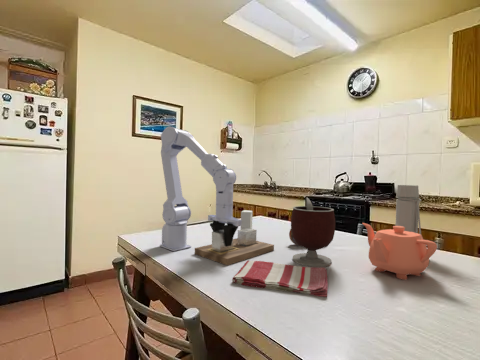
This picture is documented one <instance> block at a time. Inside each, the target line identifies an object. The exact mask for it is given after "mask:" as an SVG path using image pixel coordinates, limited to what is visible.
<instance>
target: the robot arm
mask: <svg viewBox="0 0 480 360" xmlns="http://www.w3.org/2000/svg"><path fill="white" fill-rule="evenodd" d="M160 140H161V141H160V142H161V148H160V155H161V163H162V169H163V176H164V177H163V178H164V182H165V183H164V184H165V190H166V191H165V192H166V197H167V198H166V201H164V202H163V204H162V206H163V209H162V213H161V214H162V219H163V221H164V224H163V226H162V228H161V244H159V247H161V248H164V249H167V250H170V251H172V252H174V251H175V252H177V251H180V250H185V249H190V248H192V245H189V244H187V238H188V237H187V235H188V232H187V231H188V224H187V223H189V220H190V218H191V217H192V216H191V215H192V210H191V208H190V206H189V203H188V200H187V199H186V198H185V197H184V196H183V191H182V183H181V177H180V171H179V165H178V158H177V156H178V155H179V153H181V152H182V151H183V150H185V149H186V148H187V149H189V151H191V152H192V154H194V155H195V156H196V158H198V159H199V160H200V165H201V167H202V168H203V169H204V170H205V171H206V172H207V173H208V174H209V175H210V176H211V177H212V181H213V183H214V185H215V190H216V191H215V214H209V215H207V221H208V222H209V226H210V227H211V228H210V229H211V230H212V232H213V231H218V230H224V235H225V246H231V244H232V240H233V239H234V237H235V234H236V232H237V231H238V229H239V227H241V226H242V220H241V218H239V219H238V218H237V217H234V216H233V213H234V212H233V210H234V208H233V207H234V184H235V183H236V180H237V175H236V172H235V171H234V169H231V168H227V165H226V164H224V163H223V162H222V161H221V160H220V159H219V156H218V155H217V154H215V153H208V152H207V151H206V149H204V147H203V146H202V145H201V144H200V143H199V141H197V140H196V139H195V137H194V135H193V134H191V132H189V131H188V130H186V129H184V130H183V129H180V128H176V127H173V126H167V127H165V129H164V130H163V131H162V132H161V134H160Z"/></svg>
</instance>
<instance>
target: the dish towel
mask: <svg viewBox="0 0 480 360" xmlns="http://www.w3.org/2000/svg"><path fill="white" fill-rule="evenodd" d="M328 281H329V280H328V272H327V268H326V267H310V266H302V265H301V266H300V265H299V266H298V265H292V264H285V263H277V262H273V261H264V260H248V259H247V260H246V261H245V263H244V264H243V265H242V266H241V267H240V269H239V271H237V273H236V274H235V275H233V277H232V280H231V283H233V284H238V285H241V286H245V287H250V288H251V287H252V288H258V289H266V290H267V289H269V290H276V291H282V292H289V293H296V294H303V295H308V296H309V295H310V296H314V297H315V296H316V297H323V298H327V296H328V291H329V290H328Z"/></svg>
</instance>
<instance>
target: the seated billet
mask: <svg viewBox="0 0 480 360" xmlns="http://www.w3.org/2000/svg"><path fill="white" fill-rule="evenodd" d="M257 232H258V231H257V229H254V228H252V229H249V228H248V229H242V230H241V229H239V230H238V229H237V238H238V245H241V246H244V247H247V246H251V245H254V244H256V241H257Z"/></svg>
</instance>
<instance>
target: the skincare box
mask: <svg viewBox="0 0 480 360" xmlns="http://www.w3.org/2000/svg"><path fill="white" fill-rule="evenodd" d="M253 215H254V214H253V210H247V209H244V210H242V211H241V212H240V220H242V226H240V230H242V229H248V228H249V229H253Z"/></svg>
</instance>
